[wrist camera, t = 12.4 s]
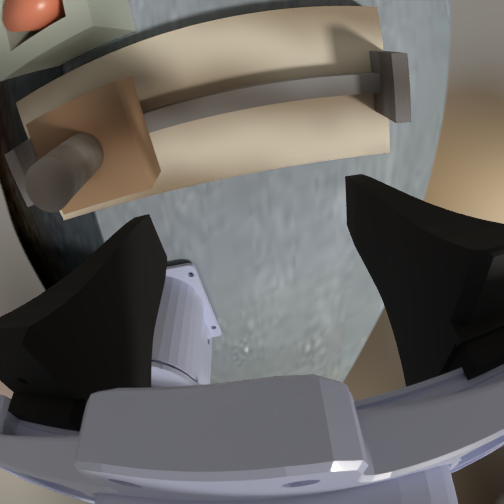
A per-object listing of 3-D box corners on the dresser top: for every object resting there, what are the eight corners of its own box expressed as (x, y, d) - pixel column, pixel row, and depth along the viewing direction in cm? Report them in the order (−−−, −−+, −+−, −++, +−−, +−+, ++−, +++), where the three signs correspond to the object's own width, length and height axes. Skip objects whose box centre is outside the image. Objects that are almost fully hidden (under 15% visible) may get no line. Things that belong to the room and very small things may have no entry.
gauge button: (79, 15, 10) (50, 13, 8) (38, 38, 10) (6, 42, 8) (71, -24, 8) (42, -32, 6) (31, 0, 9) (-1, -1, 6)
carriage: (161, 170, 17) (130, 231, 12) (79, 195, 18) (32, 256, 13) (131, 76, 14) (77, 94, 9) (47, 113, 14) (-20, 151, 9)
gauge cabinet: (136, 31, 14) (92, 26, 9) (58, 66, 15) (0, 81, 10) (119, -45, 11) (74, -72, 5) (42, -5, 11) (-16, -9, 6)
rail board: (380, 145, 20) (410, 169, 16) (71, 210, 22) (46, 243, 18) (367, 9, 14) (400, 2, 10) (27, 98, 16) (-10, 114, 12)
